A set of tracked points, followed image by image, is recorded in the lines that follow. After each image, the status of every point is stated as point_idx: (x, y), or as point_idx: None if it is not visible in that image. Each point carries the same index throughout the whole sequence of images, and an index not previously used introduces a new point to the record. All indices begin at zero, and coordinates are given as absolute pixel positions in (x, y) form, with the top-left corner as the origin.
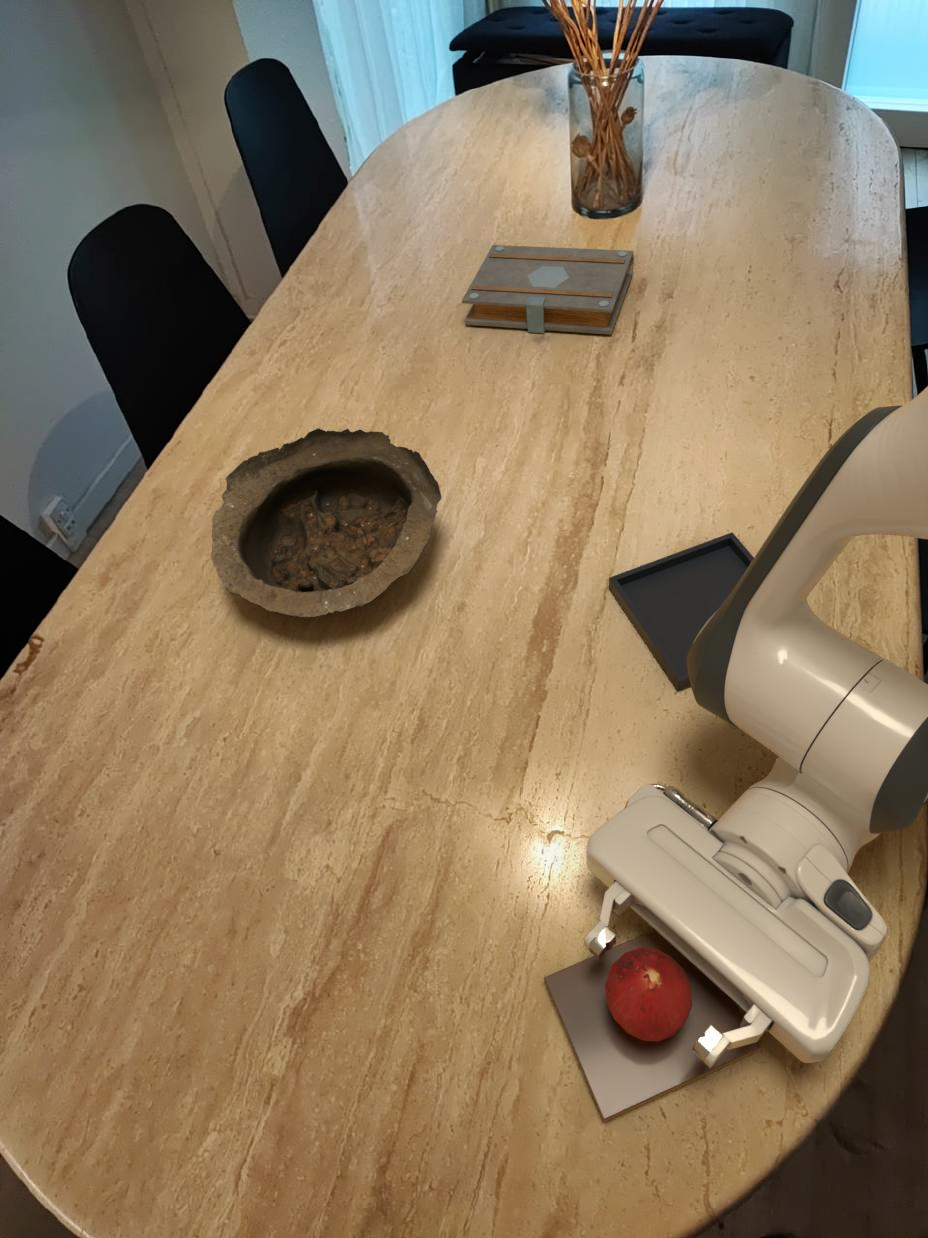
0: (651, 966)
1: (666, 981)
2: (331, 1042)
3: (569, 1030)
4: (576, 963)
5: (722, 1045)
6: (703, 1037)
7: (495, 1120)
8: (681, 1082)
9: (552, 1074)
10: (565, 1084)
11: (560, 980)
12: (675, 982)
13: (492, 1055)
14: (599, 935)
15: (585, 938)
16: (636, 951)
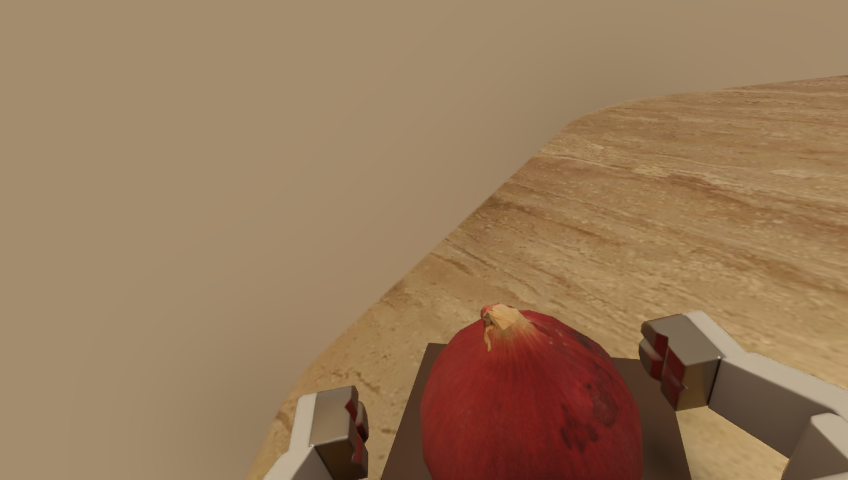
0: (543, 350)
1: (490, 373)
2: (651, 194)
3: None
4: (677, 421)
5: (299, 430)
6: (345, 404)
7: (506, 275)
8: (388, 463)
9: None
10: None
11: (649, 381)
12: (481, 411)
13: (575, 291)
14: (696, 333)
15: (696, 310)
16: (621, 397)
